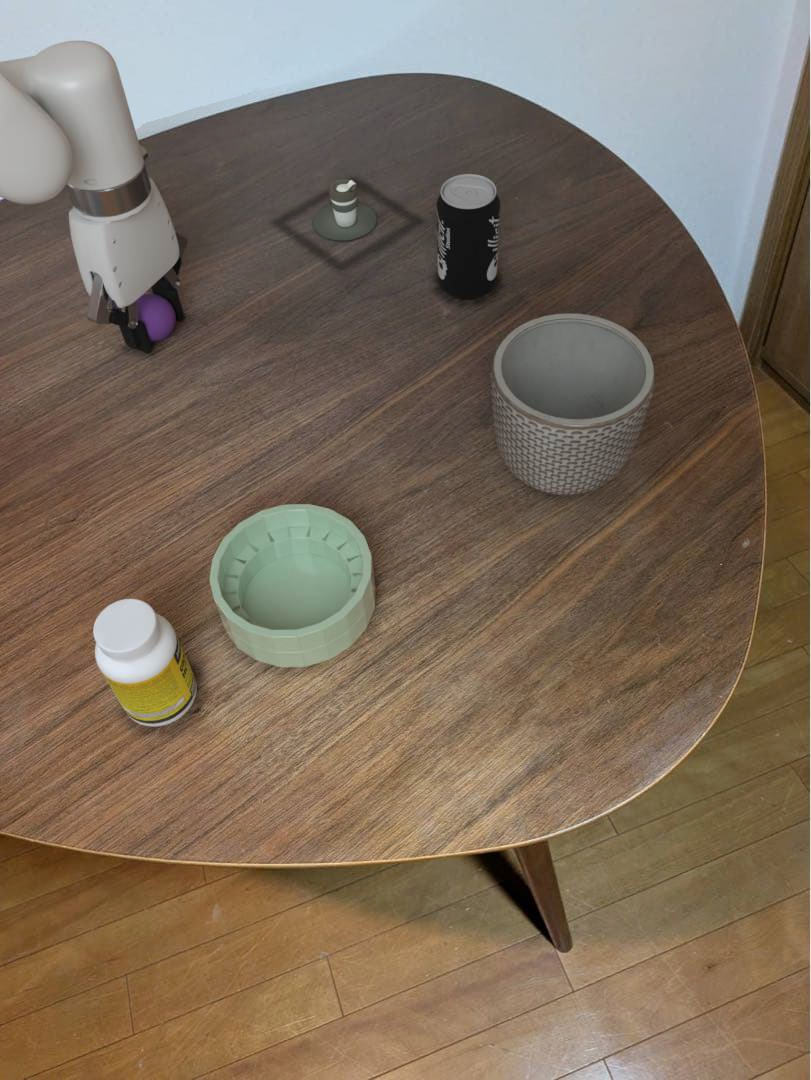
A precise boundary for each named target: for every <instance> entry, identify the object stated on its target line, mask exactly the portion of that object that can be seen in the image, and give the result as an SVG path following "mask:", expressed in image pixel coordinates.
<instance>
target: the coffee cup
mask: <svg viewBox="0 0 811 1080" xmlns="http://www.w3.org/2000/svg"><path fill="white" fill-rule="evenodd" d="M358 195H359V190H358V186H357V183H356V182H355V181H354V180H352V179H347V178H340V179H337V180H335V181H333V182H332V183H331V184H330V185H329V189H328V196H329V198H330V202H331V203H329V204H327V205H325V206H322V207H321V208H320V209H318V210H317V211H316V213H314V216H313V218H312V220H311V222H312V228H313V229H314V231H315V232H316V233H317V234H319V236H321V237H323V238H325V239H328V240H332V241H336V242H337V241H339V242H346V241H353V240H358V239H360V238H363V237H365V236H367V235H368V234H370V233H371V232H372V231H373V230H374V229H375V227H376V224H377V222H378V216H377V213H376V211H375V210H374V209H373V208H372V207H370V206H369V205H367V204H366V203H362V202H360V201H359V200H358Z"/></svg>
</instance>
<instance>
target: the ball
mask: <svg viewBox="0 0 811 1080" xmlns="http://www.w3.org/2000/svg"><path fill="white" fill-rule="evenodd" d="M137 311H138V320H139V321H141V322H143V323H144V325H145V327H146V331H147V334H148V337H149V340H150V343H153V342H159V341H162V340H165V339H166V338H168V337H169V336H170V335H171V333H173V331H174V329H175V326H176V322H177V321H176V315H175V311H174V309H173V307H172V305H171V304H170V303H169V301H167V300H166V299H165V298H163V297H162V296H159V295H156V294H153V293H144V294H143V295H142V296H141V297H139V298H138V299H137Z"/></svg>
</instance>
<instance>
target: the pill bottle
mask: <svg viewBox="0 0 811 1080" xmlns="http://www.w3.org/2000/svg"><path fill="white" fill-rule="evenodd" d="M92 632H93V634H92V635H93V638H94V641H95V645H94V646H95V647H94V657H95V662H96V664H97V667H98V669H99V671H100V672H101V674H102V676H103V677H104V679H105V680H106V682H107V684H108V685H109V687H110V688H111V690H112V692H113V694H114V695H115V697H116V699H117V701H118V702H119V704H120V706H121V707H122V709H123V710H124V712H125V713H126V715H127V716H128V717H129V718H130V719H131V720H132V721H134V722H135V723H136V724H139V725H140V726H144V727H153V728H154V727H155V728H156V727H162V726H163V727H164V726H167V725H169V724H172V723H173V722H175V721H177V720H179V719H181V718H182V717H183V716H184V715H186V713H188V711H189V710H190V709H191V707H192V706H193V704H194V702H195V699H196V697H197V696H196V695H197V687H198V686H197V679H196V677H195V674H194V672H193V668H192V666H191V665H190V663H189V660H188V658H187V656H186V654H185V652H184V648H183V647H182V644H181V642H180V640H179V638H178V635H177V632H176V631H175V629H174V627H173V625H172V623H170V622H169V621H168V619H166V618H165V617H164V616H162V615H160V614H159V613H156V612H155V610H154V608H153V607H152V606H151V605H150V604H149V603H147V602H146V601H144V600H141V599H137V598H124V599H123V598H122V599H120V600H117V601H114V602H112V603H111V604H108V605H107V606H106V607H105V608H104V609H102V611H100V612H99V614H98V615H97V617H96V618H95V621H94V623H93V629H92Z"/></svg>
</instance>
